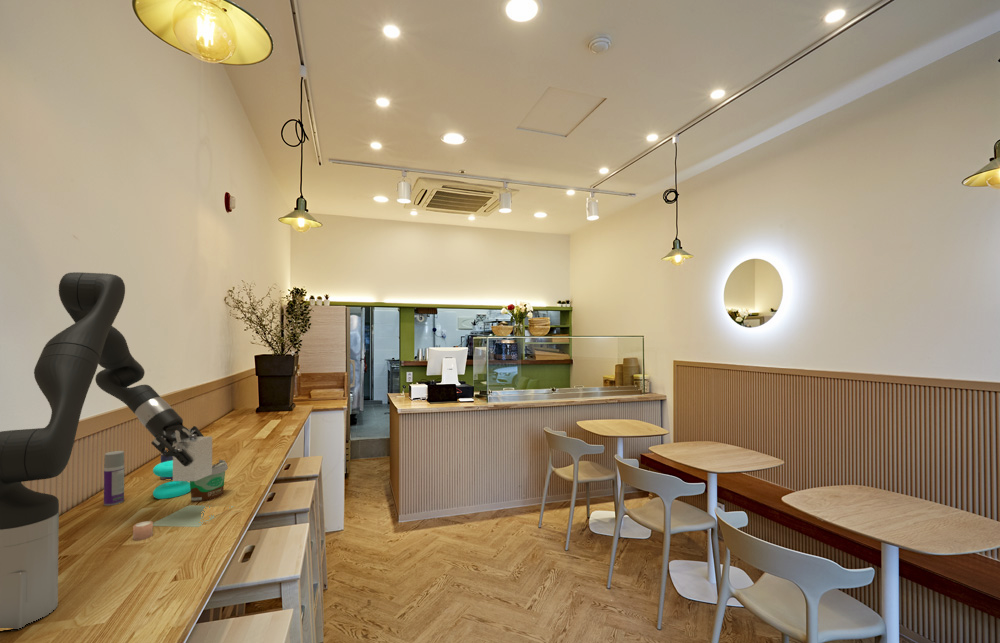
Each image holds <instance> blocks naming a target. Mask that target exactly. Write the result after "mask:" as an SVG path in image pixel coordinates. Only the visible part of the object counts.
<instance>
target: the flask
mask: <svg viewBox="0 0 1000 643" xmlns="http://www.w3.org/2000/svg"><path fill="white" fill-rule="evenodd" d="M171 460H173V457H172V456H170V457H168V458H167V457H165V456H164V455H163V454H162V453H160V463H163V462H166V461H171ZM159 478H160V480H161V481H166V480H165V479H171V481H172V480H173V476H172V477H159Z"/></svg>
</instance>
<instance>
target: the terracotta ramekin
mask: <svg viewBox="0 0 1000 643" xmlns="http://www.w3.org/2000/svg"><path fill="white" fill-rule="evenodd" d="M153 523H154V521H152V520H147V521H146V520H145V521H140V522H137V523H135V524H134V525H133V527H132V529H133V530H132V534H133V537H132V539H133V540H134V541H143V540H146V539H149V538H151V537H152V536H153V535H154V533H153V532H154V531H153V528H154V526H153Z"/></svg>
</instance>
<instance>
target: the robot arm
mask: <svg viewBox="0 0 1000 643" xmlns="http://www.w3.org/2000/svg"><path fill="white" fill-rule="evenodd" d="M125 295H126V285H125V282H124V280H123V279H122V278H121V277H120V276H119V275H116V274H113V273H112V274H111V273H103V272H102V273H101V272H97V273H96V272H68V273H65V274H64V275H62V277H61V279H60V281H59V283H58V296H59V299H60V302H61V304H62V306H63V308H64V309H65V311H66V312H67V314H68V315H69V316H70V317H71V319H72V321H74V323H73V324H71V325H70V326H68V327H66V328H65V329H63V330H62V331H60V332H59V333H56V335H54V336H53V337H52V338H50V340H48V341H47V342H46V344H45V345H44V347H43V349H42V351H41V353H40V355H39V357H38V360H37V362H36V364H35V366H34V369H33V374H34V380H35V382H36V383H37V384H36V385H37V386H38V387H39V390H40V391H41V393H42V394H43V396H44V397H45V399H46V400H47V402H48V404H49V406H50V410H51V413H50V414H51V415H50V420H49V421H48V424H47V425H46V426H45V427H38V428H27V429H25V428H24V429H12V430H1V431H0V628H13V629H18V630H20V629H19V628H21V629H23V628H24V627H25V625H26V624H28V623H30V624H32V623H34V622H33V621H35V622H36V620H37V621H38V619H39V620H41V619H43V618H45V617H46V616H48V615H50V614H51V613H52V612H54V611H55V610H56V609H57V608H58V606H59V605H58V604H59V528H60V527H59V526H60V522H59V520H60V519H59V517H60V513H59V512H60V508H59V507H60V505H59V504H60V502H59V498H58V497H57V496H55V495H53V494H51V493H50V494H49V493H44V492H39V491H35V490H32V489H30V488H28V487H26V485H24V484H23V482H31V481H33V482H34V481H41V480H42V481H43V480H48V479H53V478H56V477H58V476H59V475H61V474H62V473H63V471H64V470H65V469H66V467H67V465H68V463H69V460H70V459H71V455H72V453H73V452H72V451H73V449H74V448H73V447H74V445H75V444H74V443H75V439H76V435H77V431H78V427H79V424H80V418H81V414H82V410H83V406H84V404H85V401H86V398H87V394H88V391H89V389H90V388H91V384H92V381H93V380H95V383H96V385H97V386H98V388H99V389H100V390H102V391H103V392H105V393H107V394H108V395H110V396H111V397H114V398H116V399H118V401H120V402H122V403H123V404H125V405H126V406H127V407H128V408H129V409H130V410H131V412H133V414H134V415H135V416H136V417H137V419H138V421H139V422H140V423H141V425H143V426H144V427H145V429H146V430H147V431H148V432H149V433H150V434H151V435H152V436H153V437H154V439H153V440H152V441H151V445H152V446H153V447H154V448H155V449H156V450H158V451H159V452H160V454H163V455H164V456H165V457H167V458H168V457H170V456H172V457H174V458H175V457H176V458H177V460H178V461H179V462H180V463H181V464H182V465H184V466H188V465H189V464H190V463H191V462H192V460H191V459H190V457H189V456H188V455H187V454H186V453H185V452H184V451H182V448H181V447H180V446H179V445H178V444H179V443H178V442H179V441H181V440H183V439H186V438H189V437H190V435H191V434H197V437H205V435H204V434H203V433H202V432H201V431H200V429H199V428H198V427H197V426H195V425H193V426H192V427H191V428H187V427H186V426H185V425H184V420H183V418H182V417H181V415H180V414H178V412H177V411H176V410H175V409H174V408H173V407H172V406H171V405H170V404H169V403H168V402H167V401H166V400H165V399H164V398H162V396H160V395H159V393H158V392H156V390H155V389H154V388H153V387H152V386H151V385H148V384H139V385H136V386H132V385H134V384H136V383H138V382H140V381H142V379H143V378H144V376H145V369H144V367H143V366H142V365H141V363H139V361H137V360H136V359H135V358H134V357H133V355H132V354H131V352H130V349H129V348H130V347H129V346H128V343H127V339H126V338H125V336H124V335H123V334H122V332H121V331H119V330H118V329H117V328H116V327H114V326H113V324H114V323H115V320H116V318H117V316H118V314H119V312H120V310H121V308H122V306H123V303H124V299H125ZM98 366H100V367H101V368H103V369H102V370H100V371H99V372H97V369H98ZM96 372H97V373H96ZM94 377H95V379H94ZM130 386H132V387H130ZM174 441H175V444H174V445H173V442H174ZM175 447H176V449H174V448H175ZM167 450H168V451H167ZM53 610H54V611H53ZM49 613H50V614H49ZM42 617H43V618H42ZM40 618H41V619H40ZM31 622H32V623H31ZM28 625H29V624H28ZM26 626H27V625H26ZM22 627H23V628H22Z"/></svg>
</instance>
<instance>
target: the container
mask: <svg viewBox="0 0 1000 643" xmlns="http://www.w3.org/2000/svg"><path fill="white" fill-rule="evenodd" d="M103 462H104V463H103V505H104V506H105V507H108V506H110V505H111V506H115V505H119V503H120V504H122V503H123V502H125V451H124V450H114V451H109V452H105V453H104V460H103Z"/></svg>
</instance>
